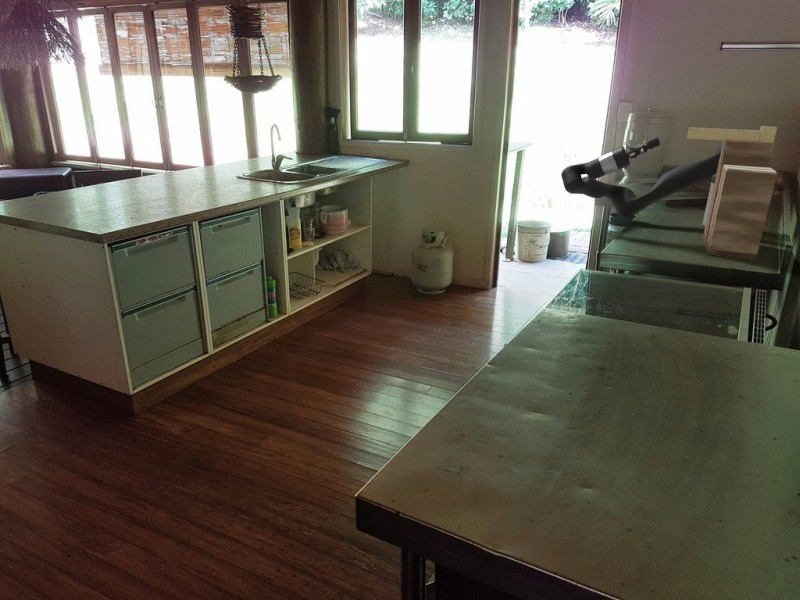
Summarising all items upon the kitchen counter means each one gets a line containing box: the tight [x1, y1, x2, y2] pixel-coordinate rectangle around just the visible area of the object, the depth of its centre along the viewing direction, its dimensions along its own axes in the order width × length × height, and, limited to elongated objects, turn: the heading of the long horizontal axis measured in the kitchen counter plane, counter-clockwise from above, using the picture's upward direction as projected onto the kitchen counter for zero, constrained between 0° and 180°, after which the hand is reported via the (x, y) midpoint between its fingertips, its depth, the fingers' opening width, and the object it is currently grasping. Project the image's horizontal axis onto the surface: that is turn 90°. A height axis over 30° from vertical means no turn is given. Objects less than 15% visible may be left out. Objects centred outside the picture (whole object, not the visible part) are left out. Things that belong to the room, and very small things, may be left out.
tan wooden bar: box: [686, 125, 778, 143], centre depth 197 cm, size 5×26×5 cm, turn 67°
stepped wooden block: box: [702, 140, 778, 261], centre depth 195 cm, size 26×14×36 cm, turn 157°
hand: (659, 141), depth 206 cm, fingers open, 8 cm apart
